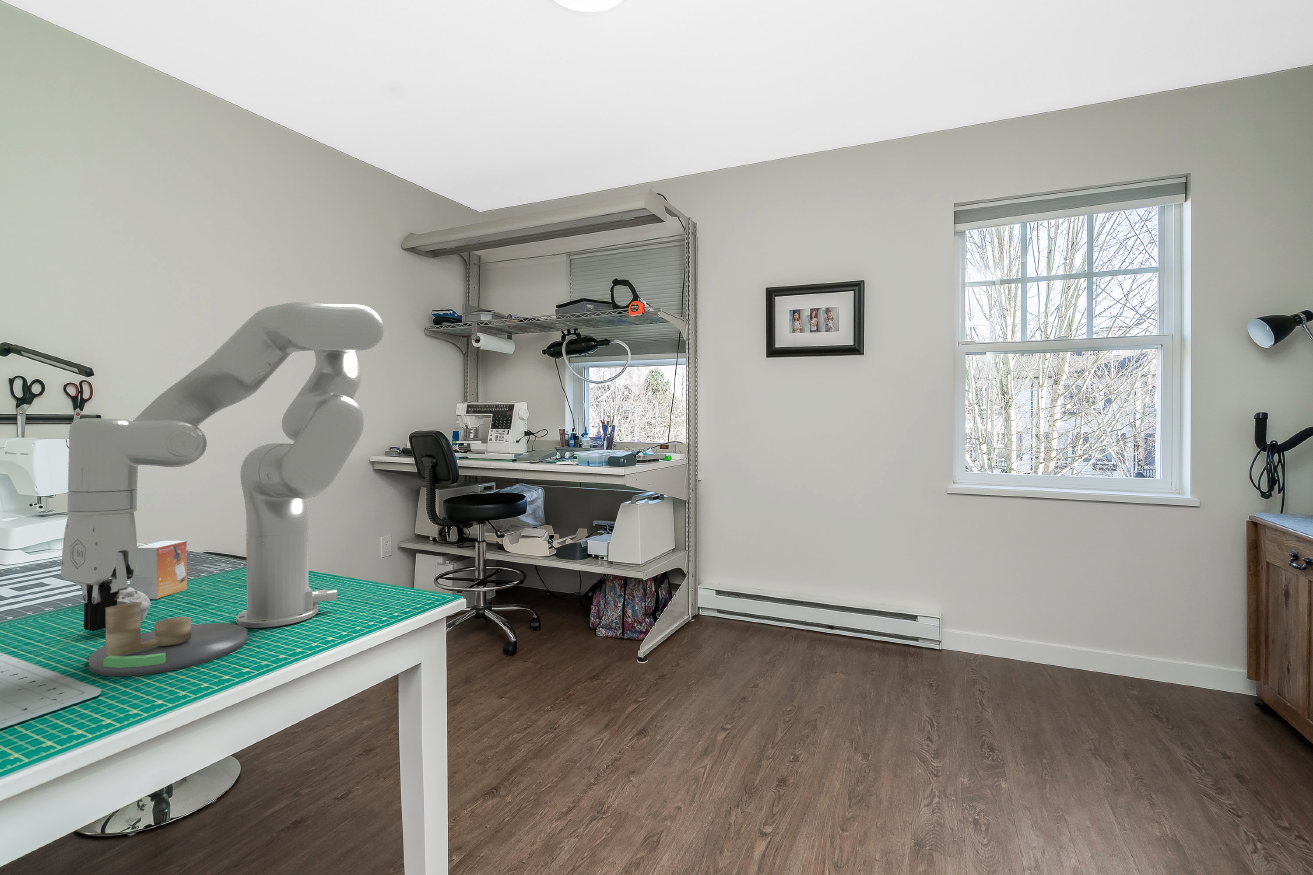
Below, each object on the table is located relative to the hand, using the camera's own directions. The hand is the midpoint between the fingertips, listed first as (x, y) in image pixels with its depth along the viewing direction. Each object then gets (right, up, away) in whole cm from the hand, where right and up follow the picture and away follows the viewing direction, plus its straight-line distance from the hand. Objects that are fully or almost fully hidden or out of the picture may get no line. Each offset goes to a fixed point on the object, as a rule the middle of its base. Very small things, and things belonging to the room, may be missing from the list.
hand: (100, 627), depth 88 cm
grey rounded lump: (-10, -5, +16) cm, 20 cm away
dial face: (+7, -5, +5) cm, 10 cm away
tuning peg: (+5, -4, +3) cm, 7 cm away
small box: (-21, -5, +36) cm, 43 cm away
